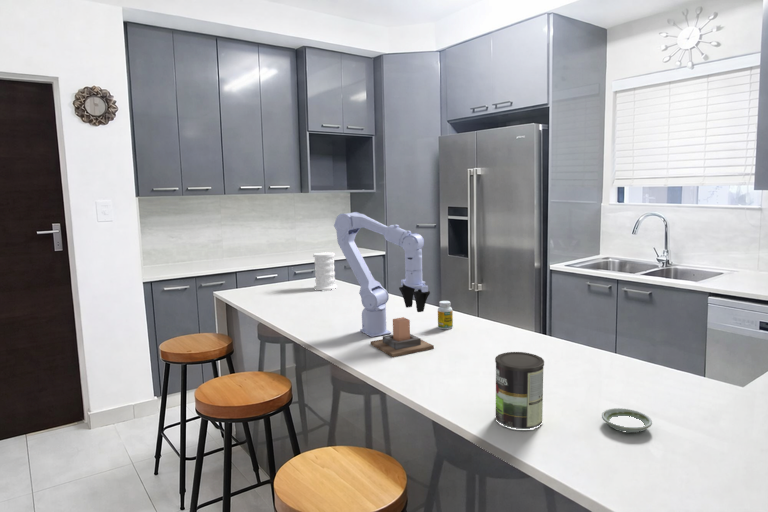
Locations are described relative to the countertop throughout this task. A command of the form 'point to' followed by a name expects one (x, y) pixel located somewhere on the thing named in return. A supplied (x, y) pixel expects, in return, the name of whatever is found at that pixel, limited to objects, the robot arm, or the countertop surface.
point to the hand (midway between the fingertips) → (414, 309)
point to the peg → (401, 329)
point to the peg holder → (401, 345)
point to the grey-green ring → (626, 412)
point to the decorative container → (324, 271)
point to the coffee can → (519, 389)
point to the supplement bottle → (445, 315)
